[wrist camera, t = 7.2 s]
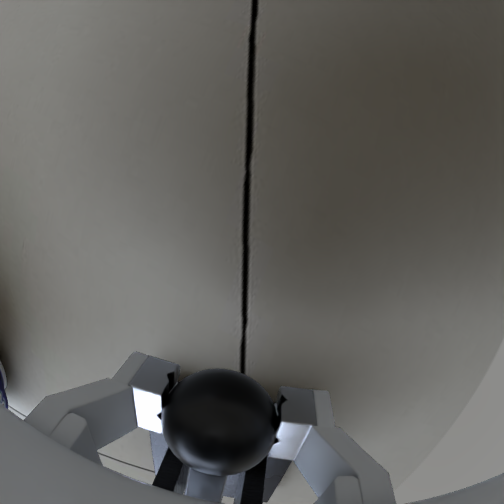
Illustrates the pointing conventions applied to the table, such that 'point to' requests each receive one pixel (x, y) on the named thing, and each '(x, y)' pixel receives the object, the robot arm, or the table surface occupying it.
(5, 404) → the teapot
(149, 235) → the table surface
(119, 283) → the table surface
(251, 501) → the bracket
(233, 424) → the lever
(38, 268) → the table surface
